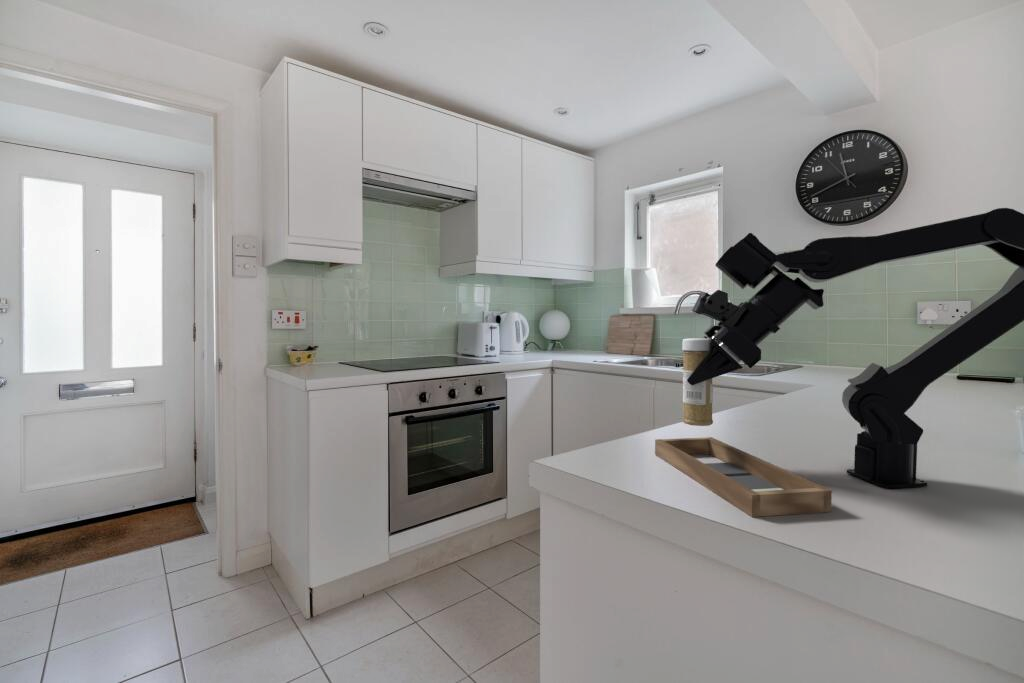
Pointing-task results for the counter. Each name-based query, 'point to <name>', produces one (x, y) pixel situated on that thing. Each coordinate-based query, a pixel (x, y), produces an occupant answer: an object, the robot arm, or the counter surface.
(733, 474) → the mats
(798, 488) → the box
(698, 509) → the counter surface
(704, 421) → the spice jar
